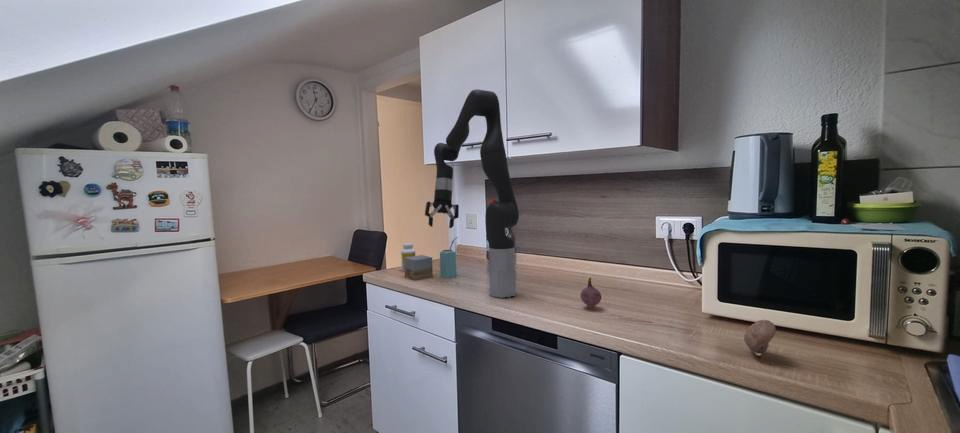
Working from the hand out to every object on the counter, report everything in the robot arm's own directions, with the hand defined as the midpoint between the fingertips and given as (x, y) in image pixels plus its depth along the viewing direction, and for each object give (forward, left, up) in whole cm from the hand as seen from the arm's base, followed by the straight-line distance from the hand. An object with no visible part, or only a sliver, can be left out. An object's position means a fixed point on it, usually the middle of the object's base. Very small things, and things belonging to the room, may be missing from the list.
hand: (440, 227), depth 155 cm
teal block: (+2, -3, -22) cm, 23 cm away
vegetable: (-59, -30, -23) cm, 70 cm away
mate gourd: (+23, -10, -23) cm, 34 cm away
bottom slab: (+8, +8, -23) cm, 25 cm away
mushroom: (-101, -41, -23) cm, 111 cm away
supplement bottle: (+23, +10, -23) cm, 34 cm away
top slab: (+8, +8, -18) cm, 22 cm away
